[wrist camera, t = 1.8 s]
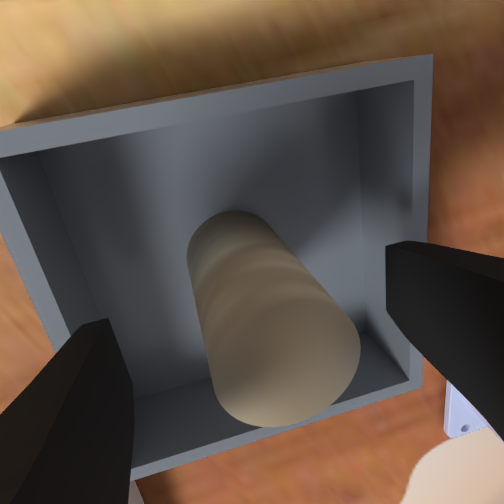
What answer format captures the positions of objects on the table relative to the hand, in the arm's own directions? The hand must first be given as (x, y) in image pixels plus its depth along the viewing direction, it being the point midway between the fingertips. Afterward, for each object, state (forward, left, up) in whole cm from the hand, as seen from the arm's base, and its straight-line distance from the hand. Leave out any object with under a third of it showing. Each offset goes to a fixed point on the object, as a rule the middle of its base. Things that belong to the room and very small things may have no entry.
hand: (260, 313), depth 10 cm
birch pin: (0, 0, -4) cm, 4 cm away
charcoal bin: (0, 0, -4) cm, 4 cm away
